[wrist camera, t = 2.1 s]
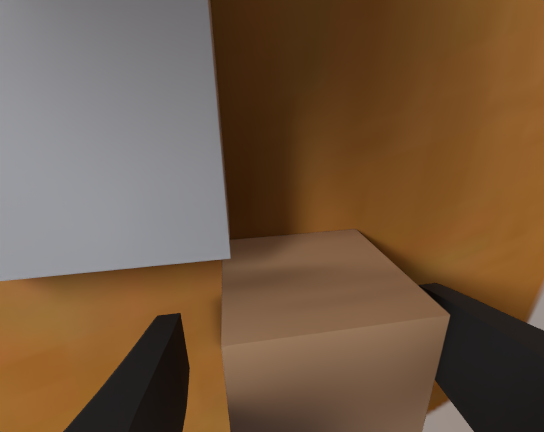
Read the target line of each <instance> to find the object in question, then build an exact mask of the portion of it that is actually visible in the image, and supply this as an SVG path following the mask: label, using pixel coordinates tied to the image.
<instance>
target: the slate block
mask: <svg viewBox="0 0 544 432" xmlns="http://www.w3.org/2000/svg"><path fill="white" fill-rule="evenodd" d="M220 259H231V255H230V230H229V211H228V200H227V188H226V177H225V165H224V153H223V142H222V130H221V118H220V107H219V95H218V83H217V72H216V60H215V49H214V37H213V25H212V14H211V2H210V0H0V281H6V280H16V279H27V278H37V277H47V276H57V275H67V274H78V273H88V272H98V271H108V270H118V269H129V268H139V267H149V266H159V265H169V264H180V263H190V262H200V261H210V260H220Z"/></svg>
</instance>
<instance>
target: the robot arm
mask: <svg viewBox="0 0 544 432" xmlns="http://www.w3.org/2000/svg"><path fill="white" fill-rule="evenodd" d="M418 286H419V287H420V288H421V289H422V290H423V291H425V292H426V293H427V294H428V295H429V296H430V297H431V298H432V299H433V300H434V301H435V302H437V303H438V304H439V305H440V306H441V307H442V308H443V309H444V310H445V311H446V312H448V313H449V314H450V318H449V323H448V327H447V331H446V335H445V339H444V343H443V347H442V351H441V356H440V360H439V364H438V368H437V372H436V376H435V380H436V382H437V383H438V384H439V386H440V387H441V388H442V390H443V391H444V393H445V394H446V395H447V397H448V398H449V399H450V400H451V402H452V403H453V404H454V406H455V407H456V408H457V410H458V411H459V412H460V414H461V415H462V416H463V418H464V419H465V420H466V421H467V423H468V424H469V426H470V427H471V428H472V430H473V431H474V432H544V331H543V330H541V329H538V328H536V327H534V326H532V325H530V324H527V323H525V322H523V321H521V320H519V319H516V318H514V317H512V316H510V315H508V314H505V313H503V312H501V311H499V310H497V309H495V308H492V307H490V306H488V305H486V304H484V303H482V302H479V301H477V300H475V299H473V298H471V297H468V296H466V295H464V294H462V293H459V292H457V291H455V290H452V289H450V288H448V287H445V286H443V285H440V284H437V283H432V284H424V285H418ZM189 369H190V367H189V362H188V356H187V350H186V344H185V338H184V332H183V326H182V320H181V314H180V313H177V314H168V315H160V316H157V317H156V318H155V319H154V320H153V322H152V323H151V324H150V326H149V327H148V328H147V330H146V331H145V332H144V334H143V335H142V336H141V338H140V339H139V340H138V342H137V343H136V344H135V346H134V347H133V348H132V350H131V351H130V352H129V354H128V355H127V356H126V357H125V359H124V360H123V361H122V363H121V364H120V365H119V366H118V368H117V369H116V370H115V371H114V373H113V374H112V375H111V376H110V377H109V379H108V380H107V381H106V382H105V384H104V385H103V386H102V387H101V389H100V390H99V391H98V392H97V393H96V395H95V396H94V397H93V398H92V399H91V400H90V402H89V403H88V404H87V405H86V406H85V407H84V408H83V410H82V411H81V412H80V413H79V414H78V415H77V417H76V418H75V419H74V420H73V421H72V422H71V423H70V425H69V426H68V427H67V428H66V429H65V430H64V431H63V432H182V431H183V425H184V420H185V414H186V408H187V397H188V384H189Z"/></svg>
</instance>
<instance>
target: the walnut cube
mask: <svg viewBox="0 0 544 432" xmlns="http://www.w3.org/2000/svg"><path fill="white" fill-rule="evenodd" d="M230 255H231V259H222V322H221V349H222V358H223V367H224V376H225V385H226V394H227V403H228V412H229V421H230V430H231V432H422V430H423V425H424V421H425V418H426V413H427V409H428V405H429V401H430V397H431V393H432V389H433V384H434V380H435V376H436V372H437V368H438V364H439V360H440V356H441V351H442V347H443V343H444V339H445V335H446V331H447V327H448V323H449V318H450V314H449V313H448V312H446V311H445V310H444V309H443V308H442V307H441V306H440V305H439V304H438V303H437V302H435V301H434V300H433V299H432V298H431V297H430V296H429V295H428V294H427V293H426V292H425V291H423V290H422V289H421V288H420V287H419V286H418V285H417V284H416V283H415V282H414V281H412V280H411V279H410V278H409V277H408V276H407V275H406V274H405V273H404V272H403V271H401V270H400V269H399V268H398V267H397V266H396V265H395V264H394V263H393V262H392V261H390V260H389V259H388V258H387V257H386V256H385V255H384V254H383V253H382V252H381V251H379V250H378V249H377V248H376V247H375V246H374V245H373V244H372V243H371V242H370V241H368V240H367V239H366V238H365V237H364V236H363V235H362V234H361V233H360V232H359V231H357V230H356V229H349V230H338V231H326V232H315V233H303V234H292V235H280V236H269V237H257V238H246V239H234V240H230Z"/></svg>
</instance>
